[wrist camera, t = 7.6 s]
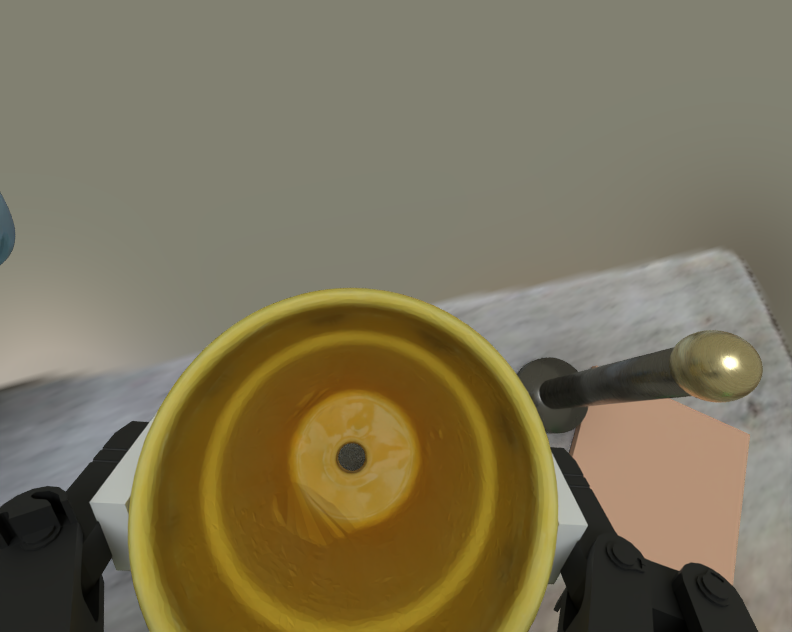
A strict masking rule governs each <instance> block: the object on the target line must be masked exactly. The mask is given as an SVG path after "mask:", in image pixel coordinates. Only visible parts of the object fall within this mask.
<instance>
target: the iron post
mask: <svg viewBox="0 0 792 632" xmlns="http://www.w3.org/2000/svg"><path fill="white" fill-rule="evenodd" d="M762 373H763V366H762V361H761V358H760V356H759V354H758V353H757V351H756V350H755V349H754V347H753V346H752V345H751V344H750V343H748V342H747V341H746V340H744V339H742V338H741V337H739V336H737V335H734V334H731V333H728V332H724V331H716V330H708V331H700V332H696V333H693V334H691V335H689V336H687V337H685V338H683V339H682V340H681V341H680V342H678V343H677V344H676V346H675V347H674V348H670V349H666V350H662V351H658V352H654V353H650V354H646V355H643V356H639V357H635V358H631V359H627V360H623V361H619V362H615V363H611V364H608V365H604V366H600V367H596V368H592V369H588V370H584V371H580V372H578V371H577V370H576V369H575V368H574V367H572V366H571V365H570V364H568V363H567V362H565V361H563V360H560V359H556V358H541V359H538V360H535V361H532V362H530V363H528V364H526V365H525V366H524V367H523V368H522V369H521V370H520V371H519V372H518V374H517V376H518V377H519V379H520V380H521V382H522V383H523V385H524V387H525V388H526V390H527V391H528V393H529V395H530V397H531V399H532V401H533V403H534V405H535V407H536V409H537V411H538V414H539V416H540V418H541V421H542V423H543V426H544V429H545V432H546V433H564V432H568V431H571V430H573V429H574V428H576V427H577V426H578V425H579V424H580V423H581V422H582V421H583V419H584V418H585V416H586V414H587V411H588V406H596V405H606V404H616V403H626V402H636V401H646V400H656V399H666V398H676V397H686V396H694V397H696V398H699V399H701V400H705V401H710V402H730V401H735V400H738V399H740V398H743V397H745V396H747V395H748V394H750V393H751V392H752V391H753V390H754V389H755V388H756V387H757V385H758V384H759V382H760V380H761V377H762Z"/></svg>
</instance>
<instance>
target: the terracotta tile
mask: <svg viewBox="0 0 792 632" xmlns="http://www.w3.org/2000/svg"><path fill="white" fill-rule="evenodd" d="M596 367H598V366H593V367H592V368H596ZM749 440H750V434H747V433H745V432H743V431H741V430H738V429H736V428H734V427H732V426H730V425H727V424H725V423H723V422H721V421H718V420H716V419H714V418H712V417H710V416H707V415H705V414H703V413H701V412H698V411H696V410H694V409H692V408H690V407H687V406H685V405H683V404H681V403H678V402H676V401H674V400H672V399H670V398H666V399H656V400H646V401H636V402H626V403H616V404H606V405H596V406H588V411H587V414H586V416H585V418H584V419H583V421H582V422H581V423H580V424H579V425H578V426H577V427H576V430H575V434H574V437H573V441H572V445H571V449H570V453H569V454H570V455H571V456H572V457H573V458H574V459H575V460H576V462H577V464H578V465H579V467H580V469H581V471H582V473H583V474H584V475H583V476H584V477H585V478H586V480H587V482H588V483H589V485H590V489H592V490H593V492H594V494H595V496H596V498H597V499H598V501H599V503H600V505H601V507H602V508H603V510H604V512H605V514H606V516H607V517H608V519H609V521H610V523H611V525H612V526H613V528H614V530H615V532H616V533H617V535H618V536H621V537H623V538H624V539H626V540H628V541H629V542H631V543H632V544H633V545H634V546H635V547H636V548H637V549H638V550H639V551H640V552H641V553H642V555H643V556H644V558H646V559H648V560H650V561H653V562H655V563H658V564H661V565H664V566H667V567H669V568H672V569H675V570H678V571H680V570H681V568H682V567H683V566H684V565H685V564H688V563H691V562H693V563H700V564H703V565H705V566H707V567H709V568H712V569H713V570H715V571H716V572H717V573H719V574H720V575H722V576H723V577H724V578H725V579H726V580H727V581H728V582H729V583H730V584H731V585H732V586H733V578H734V570H735V561H736V552H737V544H738V535H739V526H740V518H741V509H742V500H743V492H744V483H745V474H746V466H747V457H748V448H749Z"/></svg>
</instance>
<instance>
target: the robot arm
mask: <svg viewBox="0 0 792 632" xmlns="http://www.w3.org/2000/svg"><path fill="white" fill-rule="evenodd" d="M14 243H15V227H14V223H13V219H12V216H11V214H10V211H9V208H8V206H7V204H6V202H5V200H4V198H3V196H2V194H1V193H0V265H1V264H2V263H3V262H4V261H5V260H6V259H7V258H8V257H9V255H10V254H11V252H12V250H13V247H14ZM156 414H157V413H156ZM156 414H155V416H156ZM155 416H154V417H153V418H152V420H151V421H150V422H137V421H132V422H130V423H129V424H127V425H126V426H124V427H123V428H122V429H120V430H119V431H117V432H116V433H114V435H113V436H112V437H111V438H110V439H109V441H108V442H107V443H106V444H105V445H104V447H103V450H100V451H99V453H98V454H97V455H96V456H95V457H94V459H93V462H90V463H89V465H88V466H87V467H86V468H85V469H84V471H83V472H82V473H81V474H80V475H79V477H78V478H77V479H76V480H75V481H74V483H73V484H72V485H71V486H70V487H69V489H68V490H67V491H66V492H65V491H64V490H62V489H61V488H59V487H51V486H46V487H41V488H35V489H32V490H29V491H27V492H24V493H22V494H20V495H17V496H16V497H14V498H13V499H11V500H10V501H8V502H6V503H5V504H3V505H2V506H1V507H0V632H104V580H103V577H102V573H103V571H104V570H105V568H106V566H107V565H108V563H109V561H110V560H111V558H112V560H113V563H114V565H115V568H116V570H125V571H131V568H130V561H129V551H128V515H129V505H130V496H131V490H132V485H133V479H134V475H135V471H136V467H137V463H138V459H139V456H140V453H141V450H142V447H143V444H144V441H145V438H146V436H147V434H148V431H149V429H150V427H151V425H152V423H153V420H154V418H155ZM550 449H551V453H552V457H553V462H554V468H555V474H556V480H557V490H558V533H557V541H556V550H555V556H554V561H553V566H552V570H551V574H550V578H549V581H548V584H554V583H555V581H556V580H557V578H558V576H559V574H560V573H561V575H562V577H563V580H564V582H565V585H566V588H565V590H564V591H563V593H562V595H561V596H560V598H559V600H558V601H557V603H556V605H555V608H554V610H555V611H556V612H558V611H559V609H560V608H561V609H560V616H559V623H558V631H557V632H758V630H757V628H756V626H755V624H754V622H753V620H752V618H751V616H750V614H749V612H748V610H747V608H746V606H745V604H744V602H743V600H742V598H741V597H740V595H739V594H738V592H737V591H736V589H735V588H734V587H733V586H732V585H731V584H730V583H729V582H728V581H727V580H726V579H725V578H724V577H723V576H722V575H720V574H719V573H717V572H716V571H715V570H713V569H712V568H709V567H707V566H705V565H703V564H700V563H693V562H691V563H688V564H685V565H684V566H683V567H682V568H681V570H680V571H678V570H675V569H672V568H669V567H667V566H664V565H661V564H658V563H655V562H653V561H650V560H648V559H646V558H644V556H643V555H642V553H641V552H640V551H639V550H638V549H637V548H636V547H635V546H634V545H633V544H632V543H631V542H629V541H628V540H626V539H624V538H623V537H621V536H618V535H617V533H616V532H615V530H614V528H613V526H612V525H611V523H610V521H609V519H608V517H607V516H606V514H605V512H604V510H603V508H602V507H601V505H600V503H599V501H598V499H597V498H596V496H595V494H594V492H593V490H592V489H590V485H589V483H588V482H587V480H586V478H585V477H584V476H583V475H584V474H583V473H582V471H581V469H580V467H579V465H578V464H577V462H576V460H575V459H574V458H573V457H572V456H571V455H570V454H569V453H568V452H567V451H566V450H565V449H564V448H554V447H550Z"/></svg>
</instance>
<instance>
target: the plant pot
mask: <svg viewBox="0 0 792 632" xmlns="http://www.w3.org/2000/svg"><path fill="white" fill-rule="evenodd" d="M350 443H355V444H358V445H360V446H361V447H362V448H363V450H364V452H365V462H364V464H363V466H362V467H361V468H360V469H358V470H356V471H348V470H346V469H344V468H343V467H342V466H341V465H340V463H339V460H338V454H339V452H340V450H341V448H342V447H343V446H345V445H346V444H350ZM557 533H558V490H557V480H556V474H555V468H554V462H553V457H552V453H551V449H550V445H549V441H548V438H547V435H546V432H545V429H544V426H543V423H542V421H541V418H540V416H539V414H538V411H537V409H536V407H535V405H534V403H533V401H532V399H531V397H530V395H529V393H528V391H527V390H526V388H525V387H524V385H523V383H522V382H521V380H520V379H519V377H518V376H517V374H516V373H515V372H514V370H513V369H512V368H511V366H510V365H509V364H508V363H507V361H506V360H505V359H504V358H503V357H502V356H501V355H500V353H499V352H498V351H497V350H496V349H495V348H494V347H493V346H492V345H491V344H490V343H489V342H488V341H487V340H486V339H485V338H484V337H482V336H481V335H480V334H479V333H477V332H476V331H475V330H474V329H472V328H471V327H470V326H469V325H467V324H465V323H464V322H462V321H461V320H459V319H458V318H456V317H455V316H453V315H451V314H449V313H448V312H446V311H444V310H442V309H440V308H438V307H436V306H434V305H431V304H429V303H426V302H424V301H421V300H418V299H415V298H412V297H409V296H406V295H402V294H398V293H393V292H389V291H383V290H375V289H367V288H338V289H327V290H319V291H314V292H309V293H304V294H301V295H297V296H294V297H291V298H287V299H284V300H282V301H279V302H276V303H273V304H271V305H269V306H266V307H264V308H262V309H260V310H258V311H256V312H254V313H252V314H250V315H249V316H247V317H245V318H244V319H242V320H241V321H239V322H237V323H236V324H234V325H233V326H232V327H230V328H229V329H228V330H226V331H225V332H223V333H222V334H221V335H220V336H219V337H217V338H216V339H215V340H214V341H213V342H211V343H210V344H209V345H208V346H207V347H206V348H205V349H204V350H203V351H202V352H201V353H200V354H199V355H198V356H197V357H196V358H195V359H194V361H193V362H192V363H191V364H190V365H189V366H188V367H187V369H186V370H185V371H184V372H183V374H182V375H181V376H180V377H179V379H178V380H177V382H176V383H175V384H174V386H173V387H172V389H171V390H170V392H169V393H168V395H167V397H166V398H165V400H164V401H163V403H162V405H161V406H160V408H159V410H158V412H157V414H156V416H155V418H154V420H153V423H152V425H151V427H150V429H149V431H148V434H147V436H146V438H145V441H144V444H143V447H142V450H141V453H140V456H139V459H138V463H137V467H136V471H135V475H134V479H133V485H132V490H131V496H130V505H129V515H128V551H129V561H130V568H131V574H132V579H133V585H134V589H135V592H136V596H137V599H138V602H139V606H140V609H141V611H142V614H143V616H144V619H145V622H146V624H147V627H148V629H149V631H150V632H528V631H529V629H530V627H531V625H532V623H533V622H534V619H535V617H536V615H537V612H538V610H539V607H540V604H541V602H542V599H543V597H544V594H545V591H546V588H547V585H548V581H549V578H550V574H551V570H552V566H553V561H554V556H555V550H556V541H557Z"/></svg>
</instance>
